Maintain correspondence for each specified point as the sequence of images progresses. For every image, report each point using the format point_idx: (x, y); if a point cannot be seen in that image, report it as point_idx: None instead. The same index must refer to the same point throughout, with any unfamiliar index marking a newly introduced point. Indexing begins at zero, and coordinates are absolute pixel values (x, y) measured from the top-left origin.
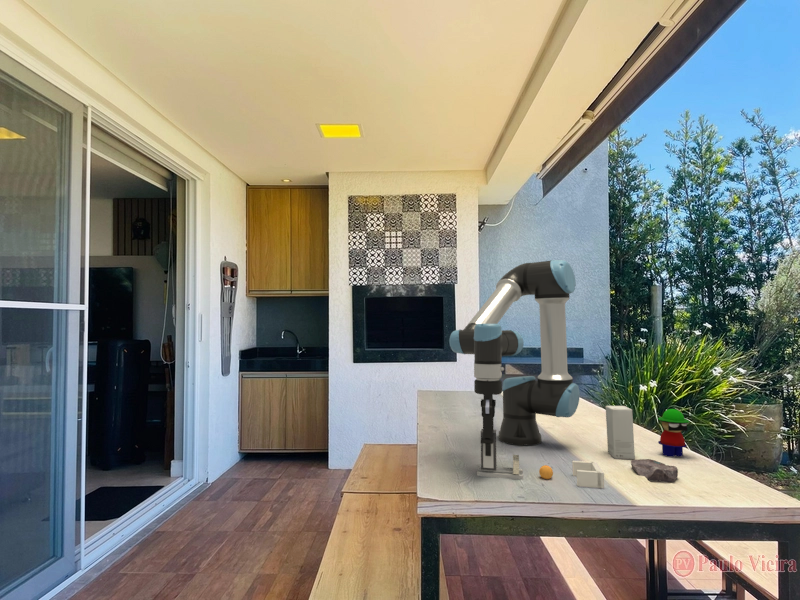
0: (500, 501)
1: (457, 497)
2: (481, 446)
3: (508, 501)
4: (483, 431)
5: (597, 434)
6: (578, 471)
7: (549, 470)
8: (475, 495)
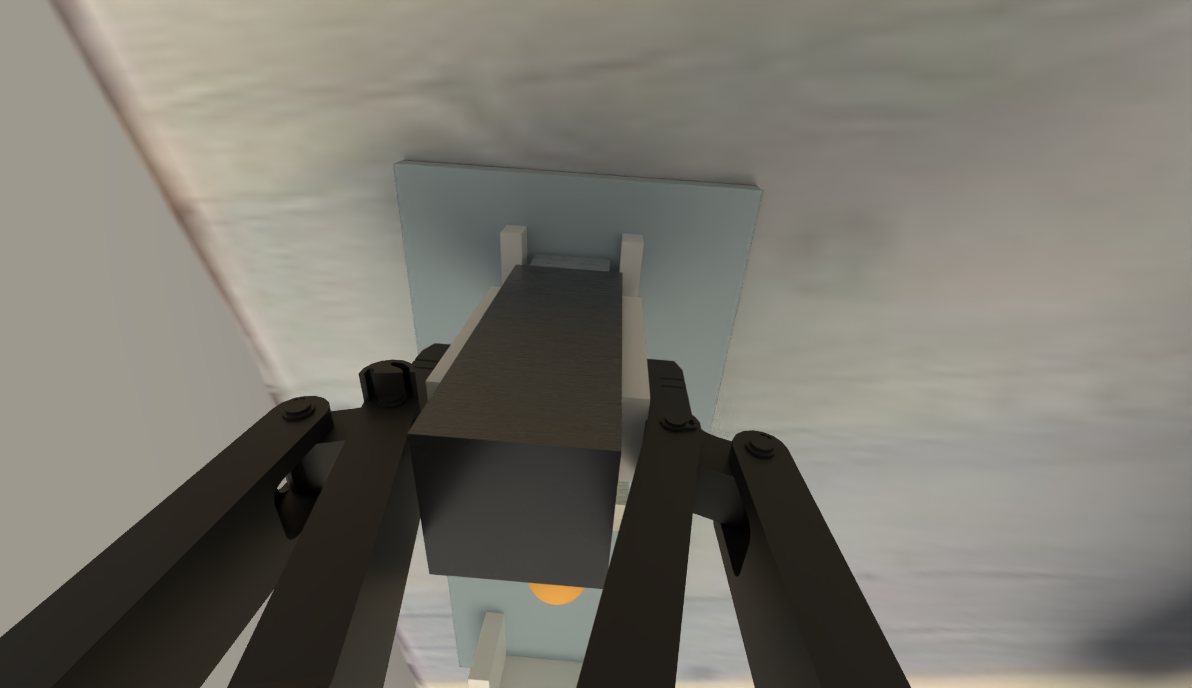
0: (241, 330)
1: (166, 91)
2: (466, 345)
3: (260, 363)
4: (180, 495)
5: None
6: (469, 680)
7: (531, 590)
8: (257, 206)
